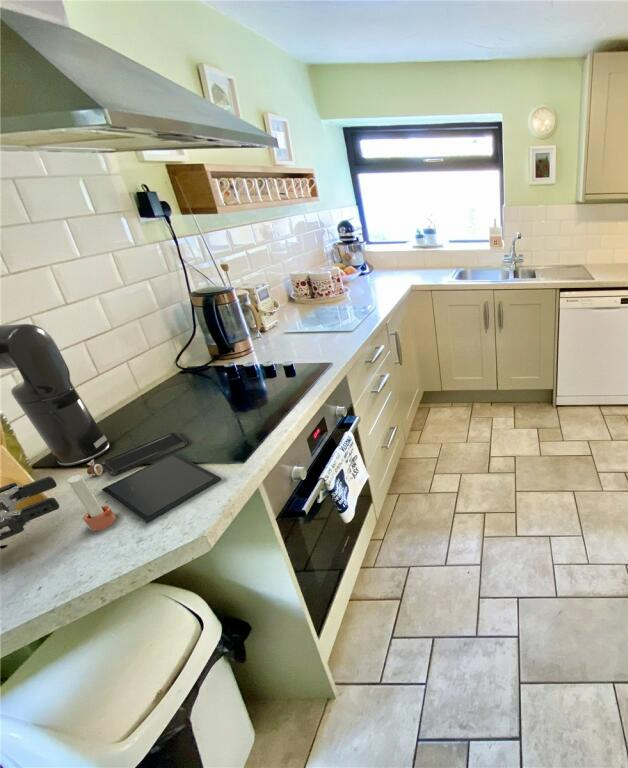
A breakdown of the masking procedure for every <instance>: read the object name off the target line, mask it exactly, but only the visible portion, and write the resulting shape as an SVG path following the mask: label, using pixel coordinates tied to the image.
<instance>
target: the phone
mask: <svg viewBox="0 0 628 768" xmlns="http://www.w3.org/2000/svg"><path fill="white" fill-rule="evenodd" d="M187 445H188V442H187V440H186V438H184V436H182V435H180V434H179V433H177V431H176V432H175V431H174V432H171V433H168V434H166V435H163V436H161V437H159V438H158V437H157V438H156V439H154V440H151V441H149V442H145V443H143V444H142V445H139V446H137V447H134V448H131V449H129V450H127V451H124V452H122V453H120V454H118V455H115V456H113V457H111V458H108V459H106V460H104V461H102V462H101V466H102V467H103V469H104V470H105V471H106V472H107V473H108V474H109V475H110V476H111V477H117V476H120V475H122V474H124V473H127V472H130V471H131V470H133V469H136V468H138V467H140V466H142V465H144V464H147V463H149V462H152V461H154V460H156V459H158V458H160V457H163V456H165V455H167V454H169V453H171V452H174V451H176V450H178V449H182V448H183V447H186V446H187Z"/></svg>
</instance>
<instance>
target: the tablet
mask: <svg viewBox="0 0 628 768" xmlns="http://www.w3.org/2000/svg"><path fill="white" fill-rule="evenodd" d="M221 481H222V479H221V477H220V476H219V475H216V474H214V473H213V472H211V471H209V470H207V469H206V468H203V467H202V466H199V465H197V464H196V463H193V462H192V461H190V460H188V459H187V458H184V457H182V456H180V455H178V454H176V452H175V453H172V454H170V455H167V456H166V457H164V458H162V459H159V460H158V461H155V462H153V463H151V464H150V465H147V466H145V467H143V468H141V469H139V470H137V471H135V472H133V473H131V474H129V475H127V476H125V477H124V478H121V479H119V480H117V481H115V482H113V483H110V484H109V485H107V486H105V487H103V488H101V491H102V493H104V494H105V495H106V496H108V497H109V498H110V499H111V500H114V501H115V502H116V503H118V505H120V506H122V507H123V508H124V509H126V510H127V511H128V512H130V513H131V514H132V515H134V516H136V517H137V518H138V519H139V520H140V521H142V522H144V523H145V524H150V523H151V522H153V521H154V520H156V519H158V518H159V517H162V516H163V515H165V514H166V513H168V512H170V511H171V510H173V509H175V508H177V507H178V506H180V505H182V504H183V503H185V502H187V501H189V500H190V499H192V498H194V497H195V496H197V495H199V494H200V493H202V492H204V491H206V490H207V489H209V488H211V487H212V486H214V485H216V484H217V483H219V482H221Z"/></svg>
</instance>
